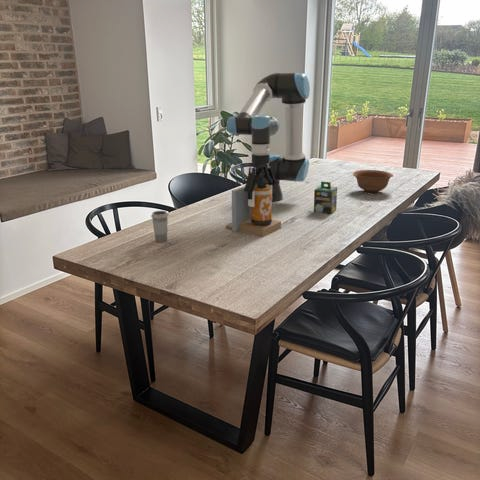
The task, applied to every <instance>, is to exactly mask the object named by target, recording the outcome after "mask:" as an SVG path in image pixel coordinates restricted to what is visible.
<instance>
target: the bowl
mask: <svg viewBox="0 0 480 480" xmlns="http://www.w3.org/2000/svg"><path fill="white" fill-rule="evenodd" d="M352 175H353V177H355V179H356V182H357V186H358V187H359V189H361V190H363V193H364V194H367V195H378V194H380V192H381V191H383V190H385V189H386V188H387V186H388V185H389V181H390V179H391V178H393V177H394V174H393V173H391V172H388V171H385V170H377V169H359V170H356V171H354V172H352Z"/></svg>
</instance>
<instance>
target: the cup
mask: <svg viewBox="0 0 480 480" xmlns="http://www.w3.org/2000/svg"><path fill="white" fill-rule="evenodd" d="M150 217H151V218H152V226H153V232H154V233H153V234H154V239H155V242H156V243H166V242H167V241H168V223H169V222H168V217H169V214H168V211H166V210H155V211H153V212H152V214H151V215H150Z"/></svg>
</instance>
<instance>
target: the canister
mask: <svg viewBox="0 0 480 480" xmlns="http://www.w3.org/2000/svg"><path fill="white" fill-rule="evenodd" d="M267 184H268V181H267V179H263V178H261V177H260V178H259V179H258V181H257V183H256V185H255V188H254V190H253V192H254V207H251V218H252V219H251V222H252V223H254V224H256V225H267V224H269V223H271V222H272V220H273V201H272V194H271V189H270V187H269V186H266V185H267Z"/></svg>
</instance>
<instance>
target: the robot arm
mask: <svg viewBox="0 0 480 480" xmlns="http://www.w3.org/2000/svg"><path fill="white" fill-rule="evenodd" d="M309 96H310V81H309V78H308V76H307V75H306V74H305V73H301V72H285V73H283V72H281V73H280V72H275V73H271V74H269V75H267V76H265V77H263V78H262V79H261V80H259V81H258V82H257V83H256V85H254V88H253V93H252V94H251V95H250V97H249V98H248V99H247V101H246V103H245V104H244V106H243V107H242V109H241V110H240V111H239V113H238V114H237V115H235V116H229V117H228V119H227V120H226V121H227V122H226V129H227V132H228V133H229V134H231V135H236V136H237V135H241V136H242V135H245V136H251V153H252V154H251V163H252V164H253V167H249V168H248V174H247V178H246V182H245V185H244V187H245V188H244V190H245V191H247V192H248V206H250V207H254V192H253V190H254V188H255V185H256V183H257V181H258V179H259V178H260V177H261V178H263V179H267V181H268V184H267V185H266V186H269V187H270V189H271V194H272V202H277V201H281V200H283V194H284V193H283V191H282V188H281V183H280V181H287V182H294V183H295V182H296V183H297V182H304V181H305V180H306V178H307V175H308V172H309V167H310V161H309V159H307V158H306V154H305V153H303V110H304V109H303V105H305V104H306V102H307V101H306V100H307V99H309V98H310V97H309ZM271 99H281V104H283V106H284V126H285V128H284V130H285V133H284V135H285V136H284V137H285V153H284V154H283V155H282V156H281V155H280V154H277V153H276V154H269V153H270V152H271V151H270V150H271V149H270V148H271V147H270V143H271V142H270V141H271V136H274V135H275V134H277V133H278V132H279V130H280V122H279V120H278V119H277V118H276V117H273V116H269V115H268V114H266V115H265V114H260V112H261V111H262V110H263V108H264V106H265V104H266V103H268V102H269V101H271Z"/></svg>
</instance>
